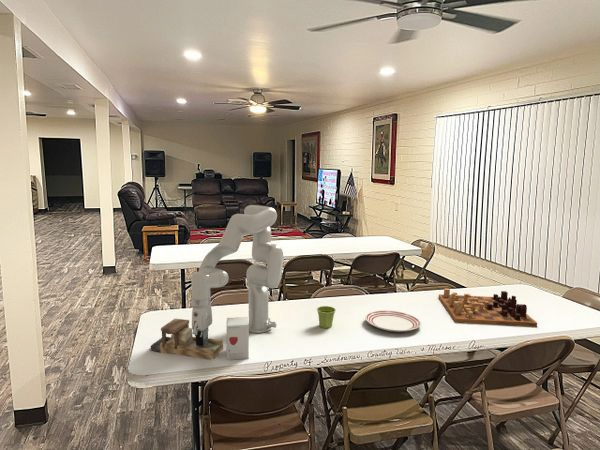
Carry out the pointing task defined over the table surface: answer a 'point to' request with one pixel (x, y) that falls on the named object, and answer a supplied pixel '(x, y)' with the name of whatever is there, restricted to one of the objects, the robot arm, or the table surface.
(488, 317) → the gameboard
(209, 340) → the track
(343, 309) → the table surface
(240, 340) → the supplement box
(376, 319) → the dinner plate
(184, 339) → the beige and grey block
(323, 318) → the plant pot
